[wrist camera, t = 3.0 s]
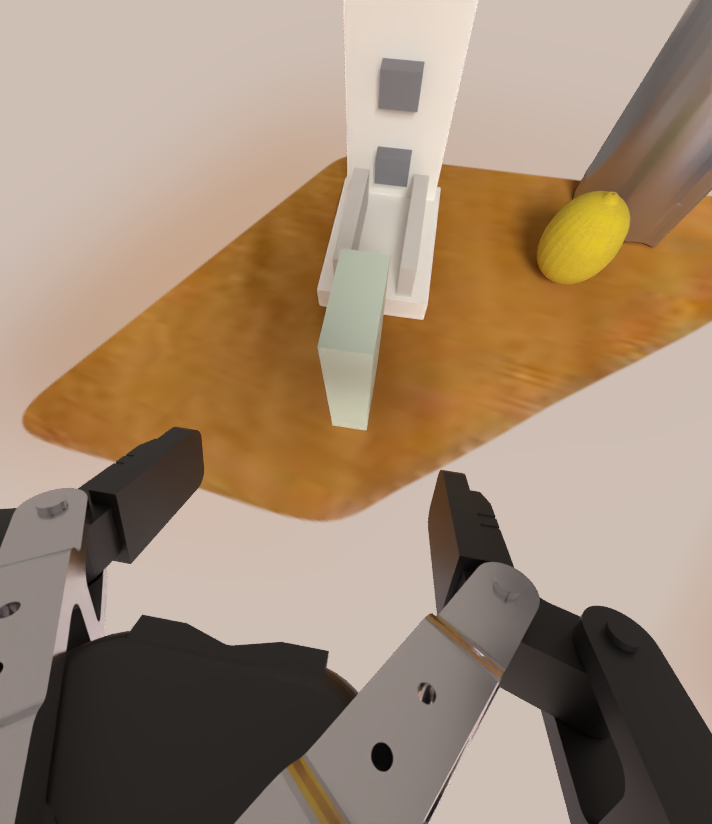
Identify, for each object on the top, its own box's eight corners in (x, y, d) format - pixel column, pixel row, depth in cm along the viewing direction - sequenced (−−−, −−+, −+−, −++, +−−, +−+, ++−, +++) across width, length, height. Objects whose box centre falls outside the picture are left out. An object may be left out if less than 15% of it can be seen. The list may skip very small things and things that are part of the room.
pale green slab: (366, 430, 26) (373, 355, 16) (332, 425, 26) (317, 346, 16) (379, 353, 28) (392, 244, 18) (347, 349, 29) (343, 238, 18)
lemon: (586, 263, 32) (657, 176, 24) (580, 310, 30) (655, 232, 22) (526, 248, 32) (576, 159, 25) (516, 294, 31) (568, 212, 23)
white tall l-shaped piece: (423, 320, 30) (632, -392, 7) (319, 305, 30) (211, -396, 8) (436, 207, 34) (586, -430, 12) (346, 196, 35) (328, -432, 12)
